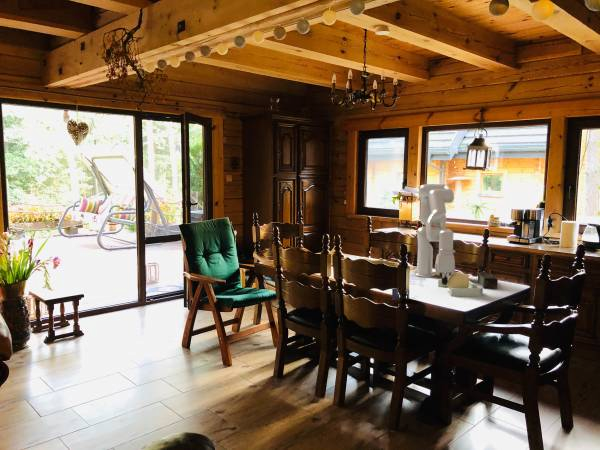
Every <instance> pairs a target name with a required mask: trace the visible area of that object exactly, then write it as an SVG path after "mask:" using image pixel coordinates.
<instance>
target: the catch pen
mask: <svg viewBox="0 0 600 450" xmlns="http://www.w3.org/2000/svg"><path fill="white" fill-rule="evenodd" d="M437 287H439V288H440V287H441V288H442V287H446V288H449V287H448V283H447V285H443V284H442V278H440V279H439V278H438V280H437ZM483 289H484V288H483V287H482V286H481V287H480V286H479V285H477V284H475V283H474V282H472V281H471V280H469V287H468V288H451V290H449V291H450V297H483V295H484V294H483V291H484V290H483Z"/></svg>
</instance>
